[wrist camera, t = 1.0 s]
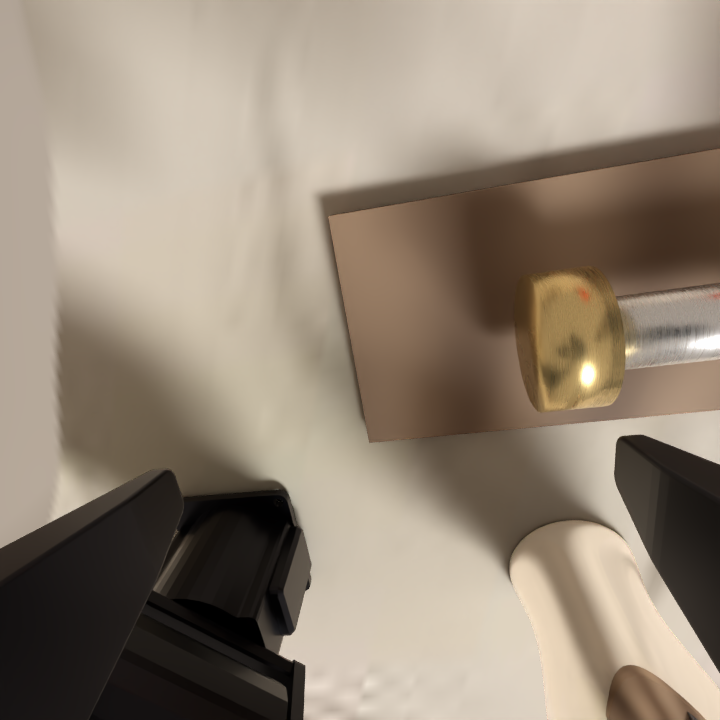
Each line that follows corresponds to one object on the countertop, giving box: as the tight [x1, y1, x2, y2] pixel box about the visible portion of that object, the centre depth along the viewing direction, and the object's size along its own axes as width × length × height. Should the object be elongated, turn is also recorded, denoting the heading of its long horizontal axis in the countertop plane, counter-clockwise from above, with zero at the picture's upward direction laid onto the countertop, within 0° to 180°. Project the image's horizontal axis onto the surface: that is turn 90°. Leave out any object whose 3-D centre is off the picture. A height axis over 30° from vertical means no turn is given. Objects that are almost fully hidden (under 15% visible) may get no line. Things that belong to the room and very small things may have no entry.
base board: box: [328, 148, 720, 443], centre depth 17 cm, size 22×10×1 cm, turn 100°
